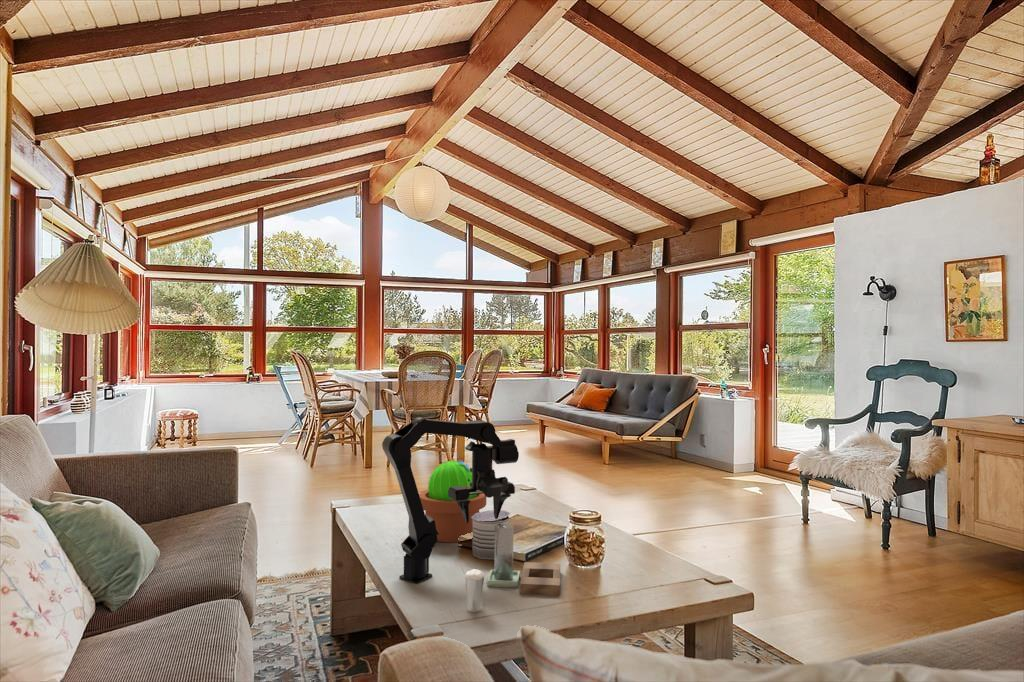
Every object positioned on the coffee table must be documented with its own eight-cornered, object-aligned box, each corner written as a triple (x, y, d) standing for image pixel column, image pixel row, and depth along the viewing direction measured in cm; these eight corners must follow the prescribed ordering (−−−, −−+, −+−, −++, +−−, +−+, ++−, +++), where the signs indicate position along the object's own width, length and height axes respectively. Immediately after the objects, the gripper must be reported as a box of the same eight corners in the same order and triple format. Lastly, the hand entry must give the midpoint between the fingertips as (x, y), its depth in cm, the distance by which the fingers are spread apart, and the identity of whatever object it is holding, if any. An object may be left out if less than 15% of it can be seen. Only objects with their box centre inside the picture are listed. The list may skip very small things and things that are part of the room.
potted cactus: (405, 540, 202) (406, 462, 203) (438, 522, 223) (439, 451, 223) (467, 549, 194) (468, 467, 194) (496, 530, 214) (496, 456, 215)
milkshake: (461, 605, 152) (461, 564, 152) (483, 605, 152) (483, 563, 152) (461, 613, 147) (461, 570, 148) (484, 613, 148) (484, 570, 148)
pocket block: (519, 593, 160) (520, 583, 160) (524, 571, 176) (524, 562, 176) (559, 595, 159) (559, 585, 159) (560, 572, 175) (560, 563, 175)
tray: (487, 586, 164) (487, 580, 164) (490, 575, 172) (490, 569, 172) (517, 587, 164) (517, 581, 164) (520, 576, 172) (520, 570, 172)
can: (504, 561, 184) (505, 519, 184) (467, 558, 186) (467, 517, 186) (512, 548, 195) (513, 509, 195) (476, 546, 197) (477, 507, 197)
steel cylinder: (505, 583, 165) (506, 529, 165) (490, 579, 167) (490, 526, 168) (516, 578, 169) (517, 525, 169) (501, 574, 172) (502, 522, 172)
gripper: (464, 473, 167) (464, 532, 167) (525, 467, 177) (524, 523, 177) (447, 466, 177) (446, 522, 177) (505, 460, 186) (505, 514, 186)
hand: (481, 520), depth 179 cm, fingers open, 9 cm apart
